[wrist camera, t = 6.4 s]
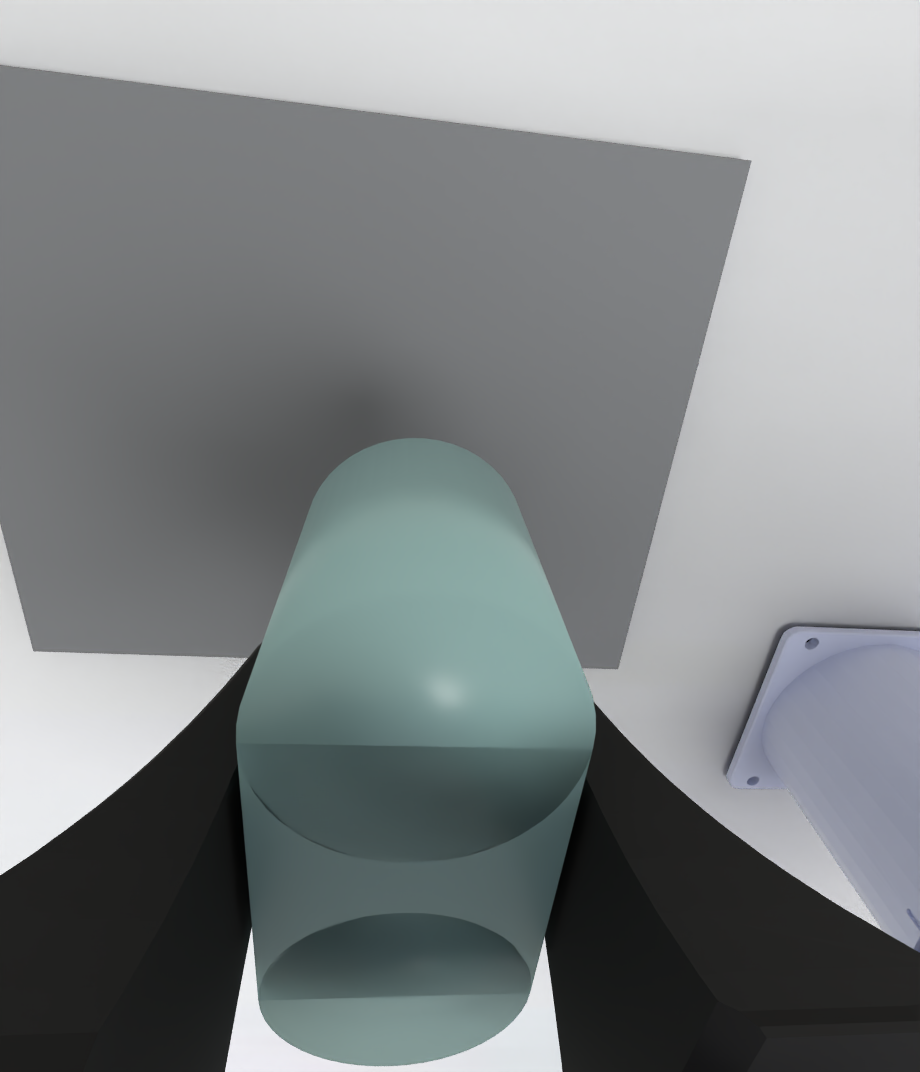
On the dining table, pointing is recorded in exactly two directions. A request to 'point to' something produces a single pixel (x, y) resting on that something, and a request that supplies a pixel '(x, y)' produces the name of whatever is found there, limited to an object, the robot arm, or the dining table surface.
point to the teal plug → (408, 763)
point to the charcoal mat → (325, 343)
